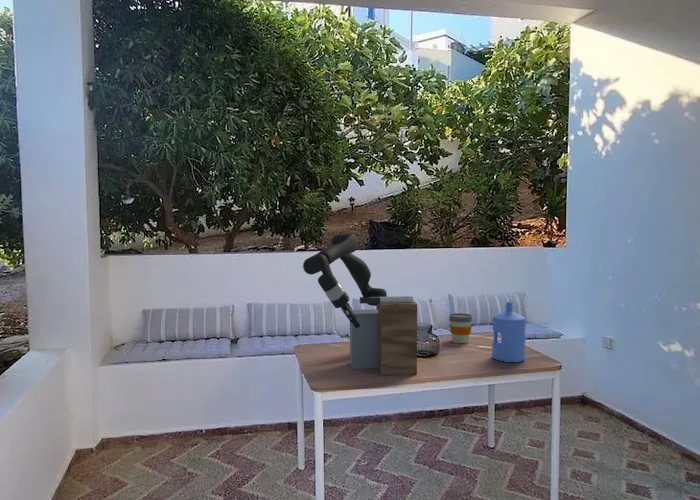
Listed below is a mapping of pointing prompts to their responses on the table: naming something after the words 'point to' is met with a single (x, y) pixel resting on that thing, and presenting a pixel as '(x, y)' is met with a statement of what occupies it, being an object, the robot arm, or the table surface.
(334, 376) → the table surface
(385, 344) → the upright wooden block
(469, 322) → the reusable coffee cup
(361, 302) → the lever bar
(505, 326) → the water jug
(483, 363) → the table surface
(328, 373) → the table surface
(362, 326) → the grey rectangular box
